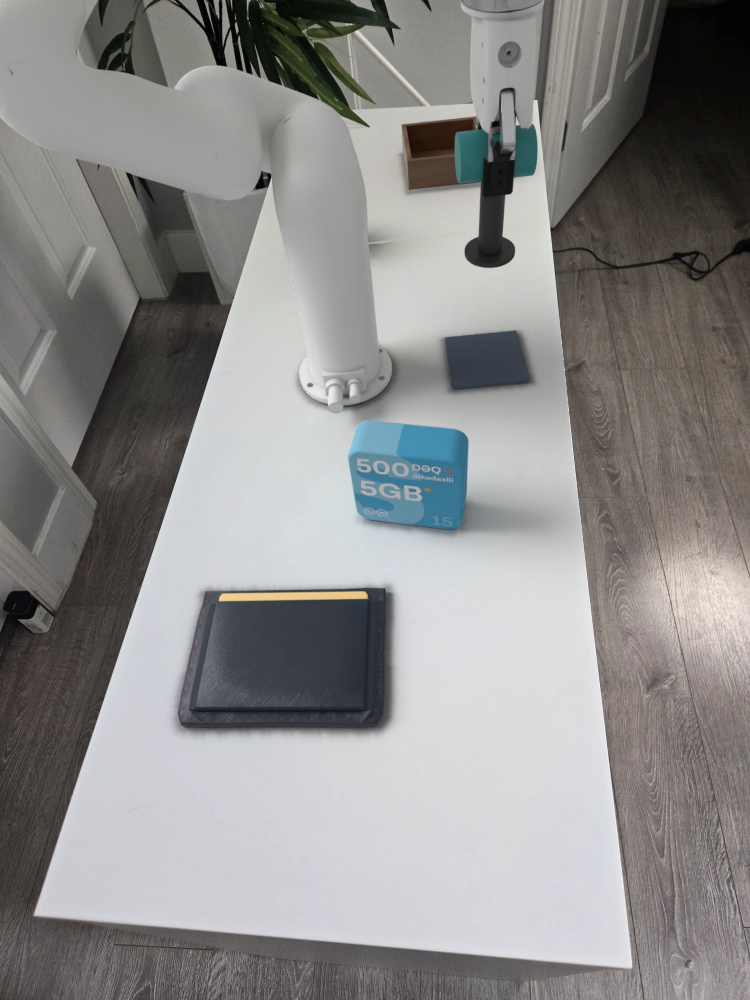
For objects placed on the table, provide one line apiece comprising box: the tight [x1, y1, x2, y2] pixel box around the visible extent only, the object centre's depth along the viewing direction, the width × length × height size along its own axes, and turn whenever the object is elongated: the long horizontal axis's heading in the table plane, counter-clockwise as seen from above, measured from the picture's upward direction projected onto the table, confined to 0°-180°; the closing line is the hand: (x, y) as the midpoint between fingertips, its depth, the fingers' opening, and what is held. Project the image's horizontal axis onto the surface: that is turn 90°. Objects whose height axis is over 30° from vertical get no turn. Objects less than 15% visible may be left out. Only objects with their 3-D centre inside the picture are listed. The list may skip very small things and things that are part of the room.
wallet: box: [177, 587, 387, 729], centre depth 71 cm, size 20×2×15 cm
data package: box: [347, 419, 469, 530], centre depth 77 cm, size 12×4×12 cm, turn 78°
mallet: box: [455, 123, 539, 269], centre depth 79 cm, size 6×8×14 cm
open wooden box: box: [401, 115, 481, 191], centre depth 126 cm, size 14×14×6 cm
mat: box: [444, 329, 531, 391], centre depth 96 cm, size 10×10×1 cm
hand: (492, 179), depth 78 cm, fingers closed on mallet, 5 cm apart
